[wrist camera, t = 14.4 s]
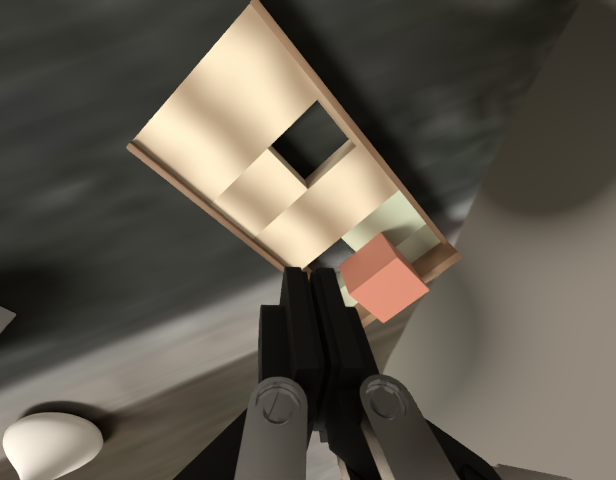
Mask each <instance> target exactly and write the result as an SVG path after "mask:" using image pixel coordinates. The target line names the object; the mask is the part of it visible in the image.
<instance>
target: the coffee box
mask: <svg viewBox="0 0 616 480" xmlns="http://www.w3.org/2000/svg"><path fill="white" fill-rule="evenodd" d="M15 316H16V314H15V313H13V312H11V311H9V310H7V309H5V308H3V307H1V306H0V333H1V332H2V331H3V330H4V329H5V327H6V326H7V325H8V324H9V323H10V322H11V321H12V320H13V318H14V317H15Z"/></svg>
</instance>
